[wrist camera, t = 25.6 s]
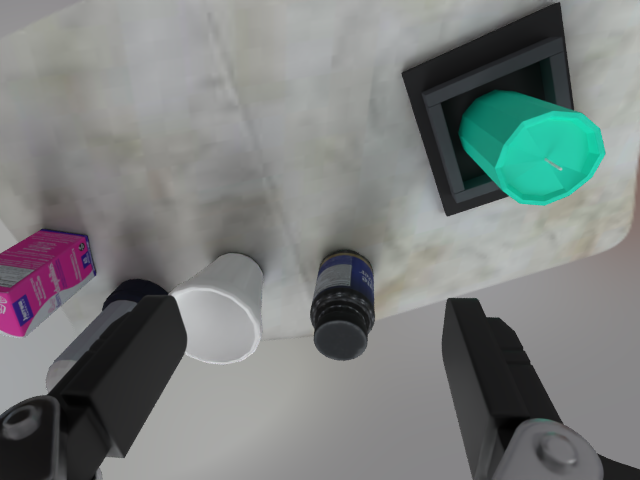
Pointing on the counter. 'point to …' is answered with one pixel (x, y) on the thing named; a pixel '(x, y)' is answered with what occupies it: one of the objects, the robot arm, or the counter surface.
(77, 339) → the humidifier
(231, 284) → the cup
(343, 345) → the pill bottle
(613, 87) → the counter surface
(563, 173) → the candle
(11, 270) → the supplement box
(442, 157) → the dark grey square holder
